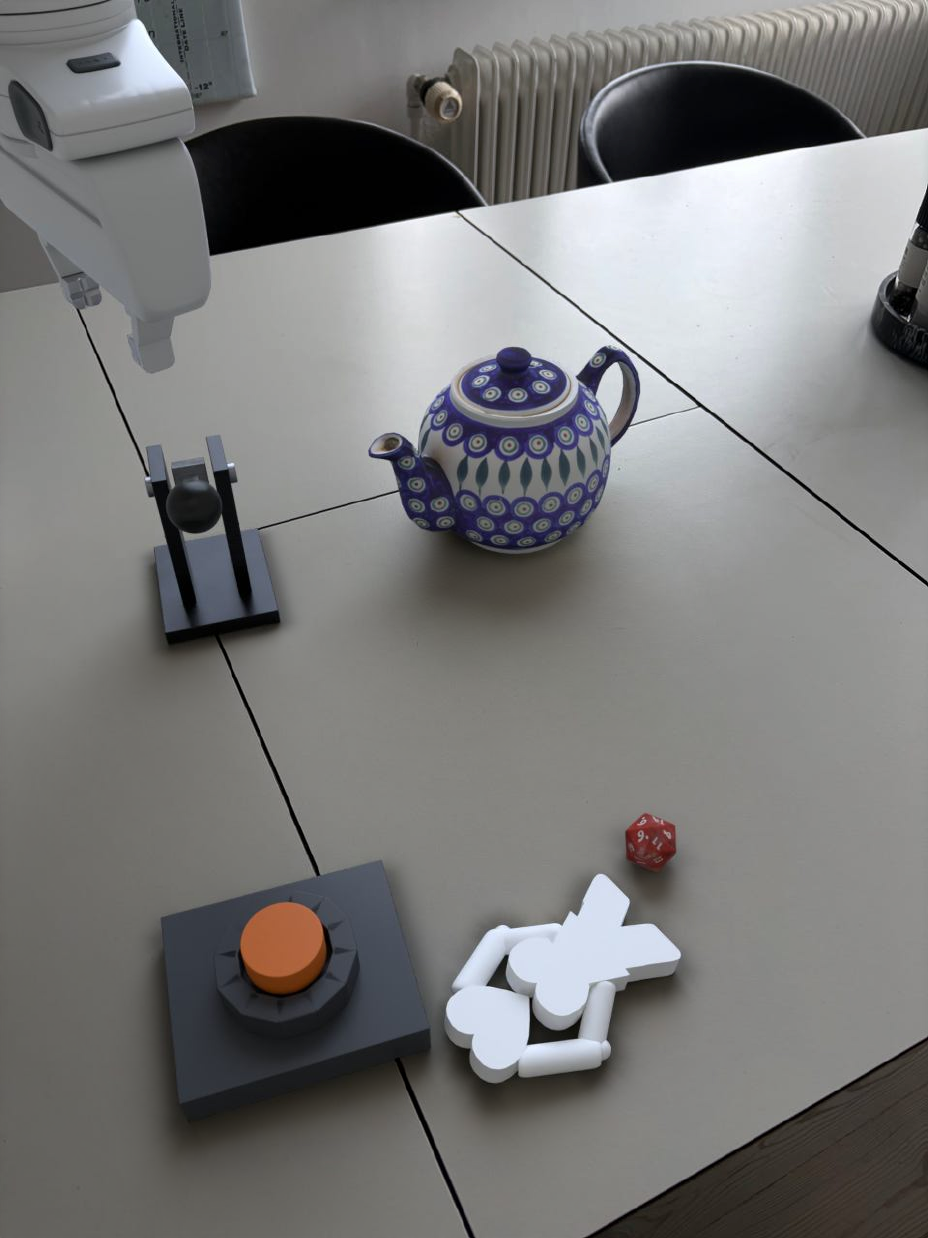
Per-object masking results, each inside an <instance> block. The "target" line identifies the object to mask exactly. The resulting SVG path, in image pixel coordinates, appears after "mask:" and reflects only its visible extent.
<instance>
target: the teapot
mask: <svg viewBox="0 0 928 1238" xmlns="http://www.w3.org/2000/svg"><path fill="white" fill-rule="evenodd" d="M615 363H617V364H618V367H619V369H620V371H621V376H622V391H621V398H620V402H619V405H618V406H617V409H616V411H615V413H614V415H613V417H612V419H611V421H610V422H608V418H607V415H606V412H605V411H604V408H603V406H602V405H601V403H600V401H599V399H598V398H597V393H598V390H599V386H600V384H601V381H602V379H603V376H604V375H605V373H606V372H607V370H608V369H609V368H610V367H611V366H612V365H614V364H615ZM584 365H585V366H584V367H583V368H582V369H581V370H580V371H579V373H578V374H576V375H575V374H574V373H573V371H572V370H571V369H569V367H567V366H565V365H564V364H562V363H560V362H558V361H556V360H554V359H552V358H549V357H545V356H542V355H538V354H533V353H530V351H528V349H526V348H523V347H521V346H520V347H519V346H508V347H504V348H502V349H501V350H499V351H498V352H497V353H496V354H491V355H486V356H483V357H479V358H477V359H474V360H472V361H470V362H469V363H466V364H465V365H464V366H462V367H461V368H460V369H459V370H458V371H457V372H456V373H455V375H454V376H453V377H452V379H451V382H450V383H449V384H448V385H446V386H445V387H444V388H442V389H441V391H440V392H438V393H437V395H436V396H435V397H434V399H433V400H432V401H431V403H430V404H429V406H428V407H427V408H426V410H425V412H424V415H423V416H422V421H421V423H420V426H419V432H418V439H417V448H416V446H415V445H414V444H413V443H412V442H410V441H409V440H408V439H407V438H406V437H405V436H403V435H402V434H400V433H398V432H386V433H384V434H381V435H380V436H378V437H377V438H376V439H374V440H373V442H372V443H371V445H370V446H369V447H368V450H367V452H368V456H369V457H370V458H372V459H378V460H385V461H389V463H390V465H391V467H392V470H393V473H394V476H395V481H396V485H397V490H398V493H399V497H400V501H401V505H402V507H403V509H404V511H405V514H406V517H408V519H409V520H410V521H411V522H412V523H414V524H415V525H416V526H417V527H419V528H420V529H421V530H423V531H424V530H425V531H428V532H432V533H442V532H444V533H445V532H452V533H454V534H456V535H457V536H460V537H461V538H464V539H466V540H468V541H470V542H471V543H472V544H474V545H476V546H478V547H480V548H482V549H485V550H488V551H492V552H496V553H501V554H511V555H512V554H514V555H521V554H529V553H535V552H539V551H543V550H545V549H549V548H550V547H552V546H554V545H555V544H557V543H558V542H560V541H562V539H564V538H565V537H567V536H569V535H571V534H572V533H574V532H575V531H577V530H579V528H581V527H582V526H583V525H584V524H586V522H588V520H589V519H590V518H591V517H592V515H593V514H594V513H595V511H596V509H597V508H598V506H599V505H600V503H601V501H602V498H603V496H604V493H605V490H606V487H607V483H608V478H609V473H610V466H611V456H612V448H613V447H614V446H616V444H617V443H619V441H620V440H621V439H622V438H623V436H625V434H626V433H627V432H628V430H629V428H630V427H631V424H632V423H633V421H634V418H635V415H636V414H637V413H636V412H637V410H638V406H639V400H640V396H641V381H640V380H641V379H640V376H639V375H640V374H639V371H638V370H637V368H636V366H635V365H634V362H633V361H632V359H631V356H629V355H628V354H627V353H626V352H625V351H623V350H622V349H621V348H619V347H617V346H614V345H604V346H602V347H600V348H599V349H598V350H597V351H596V352H595V353H594V354H593V356H592V357H590V359H589V360H588V361H587V362H586V364H584Z"/></svg>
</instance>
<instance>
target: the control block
mask: <svg viewBox="0 0 928 1238" xmlns="http://www.w3.org/2000/svg"><path fill="white" fill-rule="evenodd" d="M284 902H291V903H297V904H300V905H303V906H305V907H307V908H309V909H310V910H311V911H313V912H314V913H315V915H316V916H317V917H318V919H319V920H320V922H321V925H322V928H323V933H324V939H325V944H326V960H325V964H324V966H323V969H322V970H321V972H320V974H319V975H318V976H317V978H316V979H315V980H314V981H313V982H312V983H310V984H309V985H308V986H306V987H305V988H303V989H301V990H299V991H297V992H294V993H290V994H272V993H268V992H266V991H263V990H261V989H260V988H258V987H257V986H256V985H255V984H254V983H253V982H252V981H251V979H250V978H249V976H248V974H247V971H246V968H245V964H244V961H243V958H242V954H241V950H240V941H241V936H242V933H243V930H244V928H245V926H246V925H247V923H248V922H249V920H250V919H251V918H252V917H253V916H254V915H255V914H256V913H258V912H259V911H260V910H262V909H264V908H266V907H268V906H270V905H273V904H277V903H284ZM160 926H161V927H160V928H161V936H162V937H161V938H162V945H163V955H164V967H165V977H166V985H167V987H166V988H167V996H168V997H167V998H168V1008H169V1017H170V1026H171V1036H172V1046H173V1058H174V1068H175V1077H176V1089H177V1098H178V1099H177V1100H178V1105H179V1107H180V1109H181V1111H182V1113H183V1115H184V1117H185V1119H186V1121H187V1123H190V1122H194V1121H197V1120H200V1119H203V1118H204V1119H205V1118H207V1117H210V1116H213V1115H216V1114H217V1115H218V1114H220V1113H223V1112H227V1111H230V1110H234V1109H237V1108H239V1107H243V1106H246V1105H249V1104H252V1103H257V1102H259V1101H262V1100H266V1099H269V1098H272V1097H275V1096H278V1095H282V1094H286V1093H288V1092H293V1091H295V1090H299V1089H302V1088H305V1087H308V1086H311V1085H315V1084H319V1083H321V1082H324V1081H327V1080H330V1079H331V1080H332V1079H334V1078H337V1077H341V1076H343V1075H347V1074H351V1073H354V1072H357V1071H360V1070H364V1069H366V1068H367V1069H368V1068H371V1067H373V1066H377V1065H380V1064H383V1063H387V1062H390V1061H394V1060H397V1059H399V1058H402V1057H406V1056H410V1055H413V1054H416V1053H418V1052H422V1051H425V1050H429V1049H431V1048H432V1038H431V1037H432V1036H431V1026H430V1023H429V1020H428V1019H429V1018H428V1016H427V1013H426V1009H425V1006H424V1005H425V1004H424V1002H423V999H422V995H421V992H420V988H419V984H418V981H417V978H416V974H415V971H414V968H413V963H412V961H411V957H410V953H409V950H408V947H407V943H406V940H405V936H404V933H403V930H402V926H401V922H400V919H399V915H398V912H397V909H396V905H395V901H394V899H393V894H392V890H391V888H390V884H389V881H388V877H387V874H386V870H385V867H384V863H383V860H382V859H377V860H374V861H371V862H366V863H363V864H359V865H354V866H351V867H348V868H347V867H346V868H344V869H340V870H336V871H332V872H328V873H325V874H321V875H317V876H313V877H310V878H304V879H301V880H298V881H294V882H290V883H286V884H283V885H278V886H274V887H271V888H268V889H263V890H260V891H256V892H251V893H248V894H243V895H240V896H236V897H233V898H229V899H225V900H221V901H218V902H213V903H210V904H206V905H202V906H198V907H194V908H191V909H187V910H183V911H179V912H175V913H172V914H168V915H164V916H161V917H160Z"/></svg>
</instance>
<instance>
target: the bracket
mask: <svg viewBox="0 0 928 1238" xmlns="http://www.w3.org/2000/svg"><path fill="white" fill-rule="evenodd" d="M205 442H206V446H207V451H208V456H209V460H210V465H211V466H210V467H211V470H212V476H213V480H214V485H215V489H216V491H217V492H218V494H219V495H220V498H221V501H222V513H221V518H222V523H223V528H224V533H223V534H216V535H211V536H207V537H201V538H196V539H195V538H194V539H190V540H185V536H184V531H182V530H180V529H178V528H177V527H176V526H175V525H174V524H173V523H172V522H171V520H170V519H169V517H168V514H167V510H166V502H167V497H168V495H169V493H170V491H171V490H172V489H173V487H172V484H171V483H172V482H171V480H170V475H169V471H168V467H167V463H166V459H165V456H164V455H165V454H164V450H163V447H162V444H153V445H148V446H146V447H145V451H146V454H147V455H146V457H147V463H148V471H149V476H145V477H144V479H143V480H144V485H145V490H146V494H147V496H148V498H154V499H155V503H156V507H157V512H158V515H159V518H160V522H161V527H162V530H163V533H164V534H163V535H164V537H165V541H166V544H162V545H157V546H153V554H154V562H155V570H156V578H157V585H158V592H159V600H160V608H161V615H162V623H163V629H164V630H163V631H164V636H165V638H166V642H167V645H168V646H171V645H175V644H180V643H185V642H190V641H194V640H200V639H205V638H209V637H215V636H220V635H224V634H229V633H234V632H238V631H244V630H248V629H254V628H258V627H262V626H263V627H264V626H269V625H273V624H278V623H281V616H280V610H279V607H278V602H277V599H276V595H275V590H274V587H273V584H272V583H273V582H272V579H271V575H270V572H269V567H268V564H267V560H266V555H265V551H264V548H263V544H262V541H261V537H260V532H259V528H257V527H254V528H250V529H245V530H241V527H240V522H239V516H238V512H237V511H238V510H237V506H236V502H235V496H234V490H233V487H232V484H237V483H238V482H239V481H238V477H237V476H238V475H237V471H236V470H237V469H236V466H235V462H234V461H233V462H232V461H231V462H228V461H227V458H226V454H225V449H224V446H223V445H224V444H223V441H222V437H221V434H215V435H209V436H205Z"/></svg>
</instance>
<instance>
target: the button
mask: <svg viewBox="0 0 928 1238" xmlns="http://www.w3.org/2000/svg"><path fill="white" fill-rule="evenodd" d="M240 950H241V954H242V958H243V961H244V964H245V968H246V971H247V974H248V976H249V978H250V979H251V981H252V982H253V983H254V984H255V985H256V986H257V987H258V988H260V989H261V990H263V991H266V992H268V993H272V994H290V993H294V992H297V991H299V990H301V989H303V988H305V987H306V986H308V985H309V984H310V983H312V982H313V981H314V980H315V979H316V978H317V976H318V975H319V974H320V972H321V970H322V969H323V966H324V964H325V960H326V944H325V939H324V933H323V928H322V925H321V922H320V920H319V919H318V917H317V916H316V915H315V913H314V912H313V911H311V910H310V909H309V908H307V907H305V906H303V905H300V904H297V903H291V902H284V903H277V904H273V905H270V906H268V907H266V908H264V909H262V910H260V911H259V912H258V913H256V914H255V915H254V916H253V917H252V918H251V919H250V920H249V922H248V923H247V925H246V926H245V928H244V930H243V933H242V936H241V941H240Z"/></svg>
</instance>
